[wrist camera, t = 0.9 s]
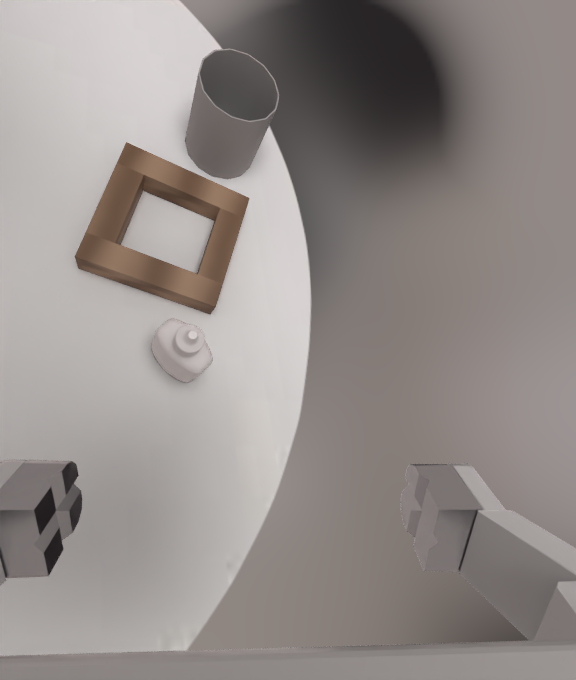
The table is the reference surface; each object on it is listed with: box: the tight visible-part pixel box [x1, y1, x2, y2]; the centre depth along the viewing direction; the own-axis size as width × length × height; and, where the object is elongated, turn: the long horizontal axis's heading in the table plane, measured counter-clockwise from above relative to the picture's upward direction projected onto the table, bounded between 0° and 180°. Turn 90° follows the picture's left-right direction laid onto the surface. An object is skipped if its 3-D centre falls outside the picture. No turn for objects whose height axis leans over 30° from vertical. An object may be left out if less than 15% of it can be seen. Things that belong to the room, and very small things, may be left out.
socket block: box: [75, 142, 249, 314], centre depth 43 cm, size 14×14×3 cm
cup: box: [185, 49, 279, 179], centre depth 45 cm, size 8×8×10 cm
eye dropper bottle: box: [151, 319, 212, 382], centre depth 36 cm, size 4×6×12 cm
